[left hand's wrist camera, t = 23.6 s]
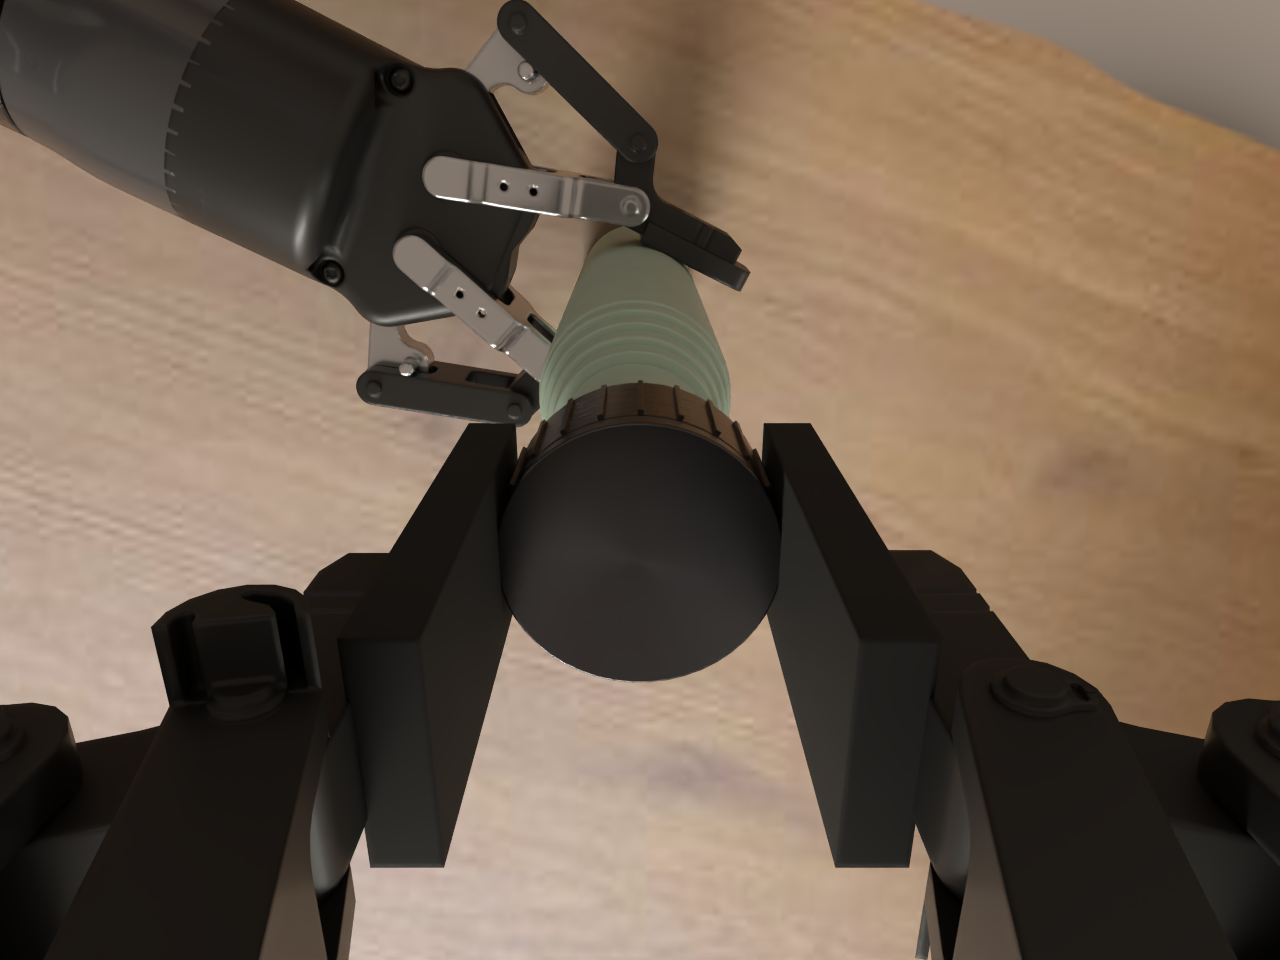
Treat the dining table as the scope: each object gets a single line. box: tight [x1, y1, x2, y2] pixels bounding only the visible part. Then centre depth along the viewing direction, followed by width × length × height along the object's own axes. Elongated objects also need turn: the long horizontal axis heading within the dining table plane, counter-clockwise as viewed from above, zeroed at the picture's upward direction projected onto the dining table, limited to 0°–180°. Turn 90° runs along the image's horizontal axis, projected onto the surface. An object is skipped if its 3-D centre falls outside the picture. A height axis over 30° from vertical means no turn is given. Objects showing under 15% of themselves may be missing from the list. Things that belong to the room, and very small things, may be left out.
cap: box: [498, 380, 782, 682], centre depth 13 cm, size 4×4×2 cm
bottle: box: [539, 226, 730, 421], centre depth 25 cm, size 4×4×23 cm
